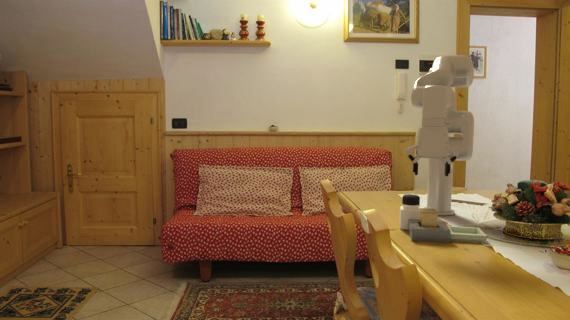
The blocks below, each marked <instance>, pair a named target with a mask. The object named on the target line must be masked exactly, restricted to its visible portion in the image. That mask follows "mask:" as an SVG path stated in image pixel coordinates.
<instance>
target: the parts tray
mask: <svg viewBox="0 0 570 320" xmlns="http://www.w3.org/2000/svg"><path fill="white" fill-rule="evenodd" d="M447 226H448V228H449V229H450V230H451V237H450V242H456V243H457V242H460V243H461V242H462V243H463V242H464V243H472V244H473V243H474V244H475V243H476V244H487V238H488V237H487V235H486V234H485V233H484V231H483V230H482V229H481V228H480V227H472V226H456V225H455V226H453V225H447Z"/></svg>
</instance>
